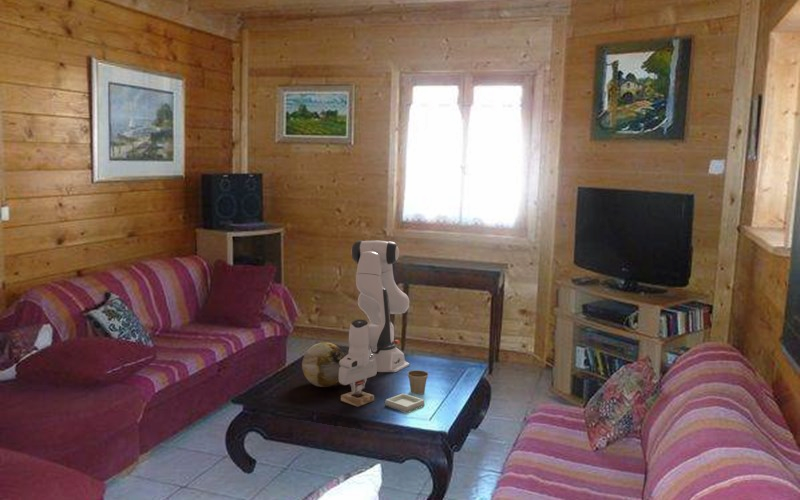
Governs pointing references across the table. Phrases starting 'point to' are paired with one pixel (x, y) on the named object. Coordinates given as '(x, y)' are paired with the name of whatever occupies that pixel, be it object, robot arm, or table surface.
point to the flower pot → (417, 381)
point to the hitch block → (357, 401)
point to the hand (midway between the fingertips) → (357, 390)
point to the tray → (404, 402)
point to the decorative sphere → (322, 364)
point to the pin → (358, 389)
